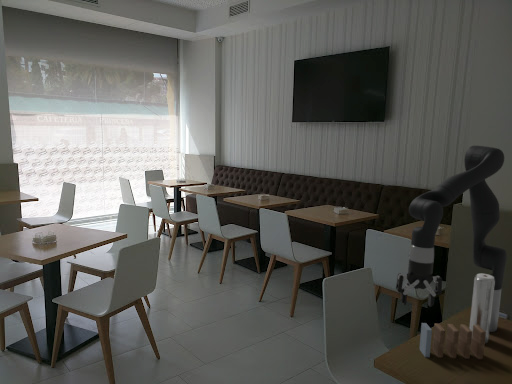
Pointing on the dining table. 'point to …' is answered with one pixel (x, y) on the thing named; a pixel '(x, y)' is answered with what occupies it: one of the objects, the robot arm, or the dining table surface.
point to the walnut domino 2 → (451, 340)
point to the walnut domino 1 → (438, 340)
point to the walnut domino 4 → (478, 341)
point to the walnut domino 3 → (465, 341)
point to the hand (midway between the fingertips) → (417, 305)
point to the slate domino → (425, 339)
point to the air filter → (482, 302)
